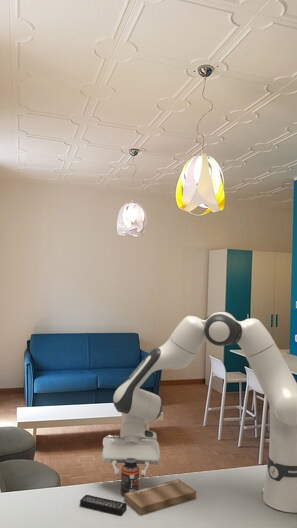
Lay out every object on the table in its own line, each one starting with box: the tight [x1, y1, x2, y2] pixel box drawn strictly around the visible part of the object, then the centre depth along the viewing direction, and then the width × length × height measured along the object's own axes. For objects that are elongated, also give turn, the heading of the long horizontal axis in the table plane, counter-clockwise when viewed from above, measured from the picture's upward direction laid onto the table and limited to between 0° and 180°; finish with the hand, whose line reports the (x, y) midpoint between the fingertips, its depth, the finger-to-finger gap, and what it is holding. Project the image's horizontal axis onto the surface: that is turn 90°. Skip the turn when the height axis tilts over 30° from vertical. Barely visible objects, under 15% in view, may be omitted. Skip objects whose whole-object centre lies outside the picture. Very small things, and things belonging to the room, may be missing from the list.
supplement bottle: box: [120, 458, 140, 497], centre depth 153 cm, size 6×6×11 cm
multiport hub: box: [79, 494, 128, 517], centre depth 143 cm, size 4×14×2 cm, turn 71°
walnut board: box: [123, 478, 197, 516], centre depth 149 cm, size 22×10×3 cm, turn 123°
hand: (130, 475), depth 152 cm, fingers open, 8 cm apart
